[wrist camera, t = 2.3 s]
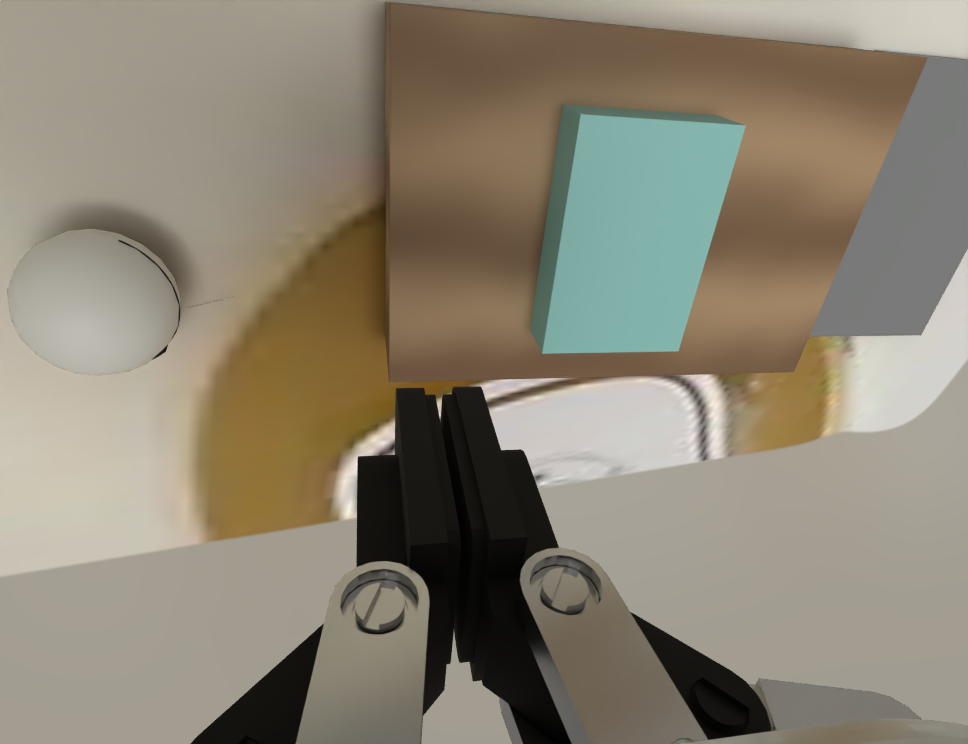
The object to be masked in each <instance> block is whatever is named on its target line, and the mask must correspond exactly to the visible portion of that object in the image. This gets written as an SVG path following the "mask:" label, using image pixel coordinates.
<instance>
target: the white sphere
mask: <svg viewBox="0 0 968 744" xmlns="http://www.w3.org/2000/svg"><path fill="white" fill-rule="evenodd" d="M7 294H8V302H9V311H10V315H11V319H12V322H13V324H14V326H15V328H16V330H17V332H18V334H19V336H20V338H21V339H22V340H23V341H24V342H25V343H26V344H27V345H28V346H29V347H30V349H31V350H32V351H33V352H34V353H35V354H37V355H38V356H40V357H41V358H43V359H45V360H46V361H48V362H49V363H51V364H53V365H54V366H57V367H59V368H62V369H65V370H68V371H71V372H74V373H78V374H86V375H94V376H100V375H109V374H117V373H122V372H127V371H130V370H133V369H135V368H137V367H140V366H142V365H145V364H147V363H148V362H149V361H151V360H153V359H155V358H157V357H159V356H160V355H161V354H163V353H164V352H166V349H167V346H168V344H169V343H170V341H171V340H172V338H173V337H174V335H175V333H176V331H177V328H178V325H179V320H180V293H179V290H178V288H177V285H176V282H175V279H174V277H173V275H172V274H171V273H170V271H169V270H168V268H167V267H166V266H165V264H164V263H163V262H162V260H161V259H160V258H159V257H157V256H156V255H155V254H154V253H152V252H151V251H150V250H149V249H147V248H146V247H145V246H144V245H142V244H140V243H138V242H136V241H134V240H132V239H130V238H127V237H125V236H123V235H121V234H119V233H114V232H109V231H103V230H98V229H82V230H70V231H67V232H64V233H62V234H59V235H57V236H54V237H52V238H50V239H47V240H45V241H43V242H40V243H38V244H36V245H35V246H34V247H33V248H32V249H31V250H30V251H29V252H28V253H27V254H26V255H25V256H24V257H23V258H22V259H21V260H20V262H19V263H18V265H17V267H16V268H15V270H14V271H13V274H12V277H11V280H10V283H9V286H8V289H7ZM232 297H233V296H232ZM229 298H231V297H229ZM226 299H228V298H226ZM221 300H224V299H221ZM216 301H220V300H216ZM211 302H215V301H211ZM207 303H210V302H207ZM203 304H206V303H203ZM200 305H202V304H200ZM195 306H198V305H195ZM190 307H194V306H190ZM185 308H188V307H185Z"/></svg>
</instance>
